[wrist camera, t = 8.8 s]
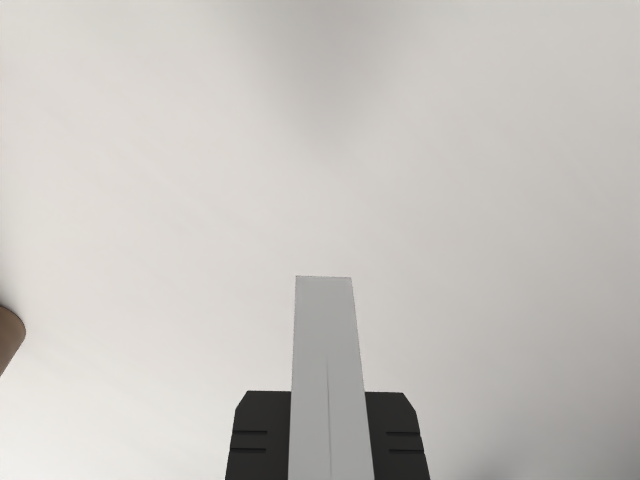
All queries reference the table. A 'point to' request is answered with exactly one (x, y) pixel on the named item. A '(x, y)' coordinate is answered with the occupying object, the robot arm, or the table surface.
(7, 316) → the post
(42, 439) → the table surface
